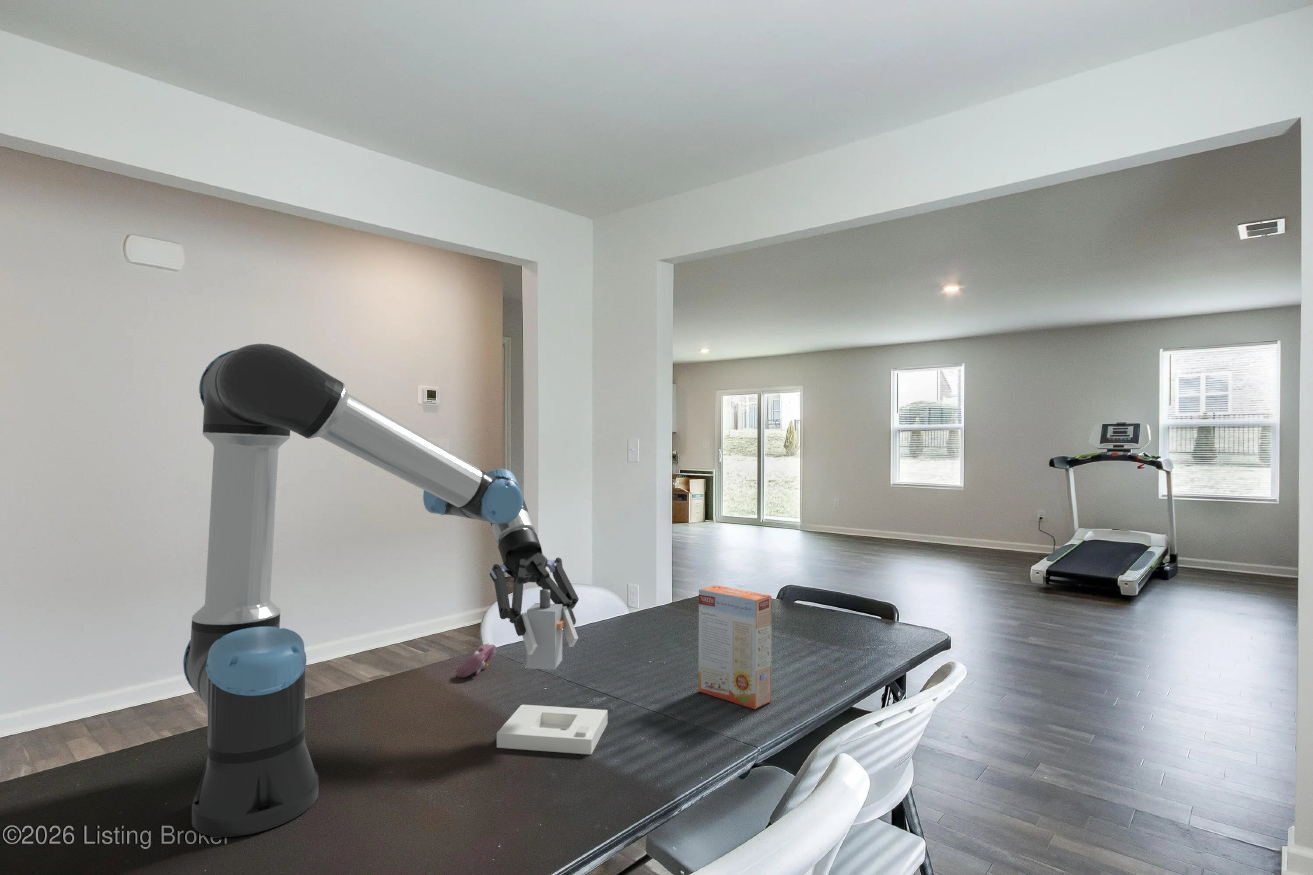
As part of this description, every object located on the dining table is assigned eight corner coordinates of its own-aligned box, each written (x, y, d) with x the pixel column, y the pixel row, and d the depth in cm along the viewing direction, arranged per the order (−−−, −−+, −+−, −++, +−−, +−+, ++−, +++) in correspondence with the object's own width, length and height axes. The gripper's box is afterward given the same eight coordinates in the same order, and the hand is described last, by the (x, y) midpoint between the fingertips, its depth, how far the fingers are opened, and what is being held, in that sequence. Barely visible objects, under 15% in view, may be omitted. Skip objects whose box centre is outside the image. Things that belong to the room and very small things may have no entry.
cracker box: (772, 702, 132) (773, 594, 132) (754, 711, 128) (755, 599, 128) (715, 683, 142) (716, 583, 142) (697, 691, 137) (697, 587, 137)
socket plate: (496, 747, 113) (496, 729, 113) (521, 717, 125) (521, 701, 124) (591, 754, 110) (591, 735, 110) (607, 723, 122) (607, 706, 122)
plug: (526, 668, 118) (526, 593, 118) (535, 658, 123) (535, 586, 123) (558, 669, 117) (558, 594, 117) (565, 660, 122) (566, 587, 122)
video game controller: (471, 686, 144) (485, 658, 143) (453, 675, 145) (467, 647, 144) (491, 671, 154) (504, 644, 153) (474, 660, 154) (487, 633, 154)
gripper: (558, 546, 138) (597, 647, 125) (460, 555, 127) (491, 668, 114) (570, 523, 134) (612, 625, 120) (470, 530, 122) (504, 644, 109)
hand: (553, 646), depth 117 cm, fingers closed on plug, 7 cm apart
